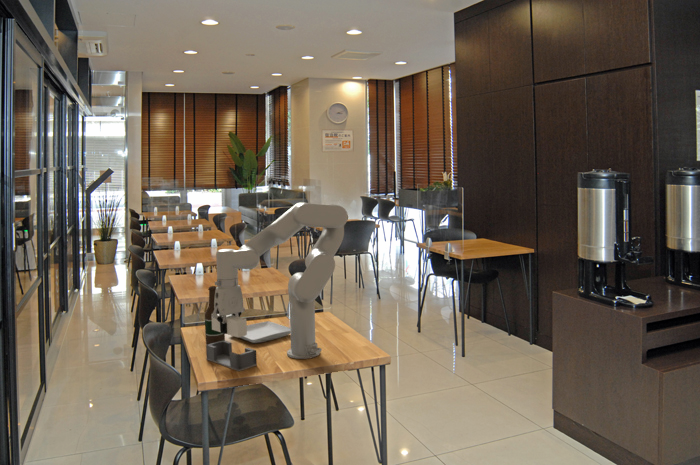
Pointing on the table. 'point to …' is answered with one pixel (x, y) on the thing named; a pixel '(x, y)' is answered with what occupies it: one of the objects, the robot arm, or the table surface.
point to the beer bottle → (211, 334)
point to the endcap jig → (230, 356)
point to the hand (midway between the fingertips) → (229, 331)
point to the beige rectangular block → (232, 325)
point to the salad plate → (265, 332)
